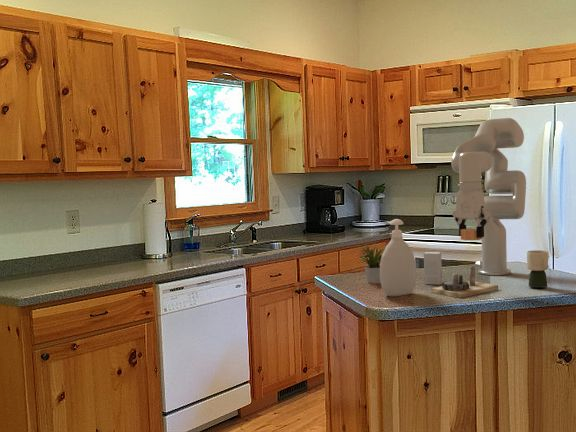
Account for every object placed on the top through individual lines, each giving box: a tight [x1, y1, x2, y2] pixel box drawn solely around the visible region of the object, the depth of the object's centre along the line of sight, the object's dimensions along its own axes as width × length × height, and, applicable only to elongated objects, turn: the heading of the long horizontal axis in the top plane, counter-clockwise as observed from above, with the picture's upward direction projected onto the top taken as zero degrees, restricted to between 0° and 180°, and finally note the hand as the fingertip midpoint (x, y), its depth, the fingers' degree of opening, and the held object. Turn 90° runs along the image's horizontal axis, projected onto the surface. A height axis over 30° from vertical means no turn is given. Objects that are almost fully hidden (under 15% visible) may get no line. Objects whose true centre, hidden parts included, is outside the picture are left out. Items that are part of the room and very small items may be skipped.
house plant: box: [356, 243, 386, 284], centre depth 233 cm, size 14×14×16 cm
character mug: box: [526, 249, 550, 289], centre depth 210 cm, size 11×7×13 cm, turn 8°
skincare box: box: [423, 251, 443, 286], centre depth 225 cm, size 6×4×12 cm
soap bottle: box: [379, 218, 417, 298], centre depth 208 cm, size 14×8×27 cm, turn 113°
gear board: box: [430, 265, 499, 299], centre depth 210 cm, size 13×20×8 cm, turn 122°
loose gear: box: [460, 227, 482, 241], centre depth 211 cm, size 7×7×4 cm
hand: (471, 236), depth 211 cm, fingers closed on loose gear, 7 cm apart
